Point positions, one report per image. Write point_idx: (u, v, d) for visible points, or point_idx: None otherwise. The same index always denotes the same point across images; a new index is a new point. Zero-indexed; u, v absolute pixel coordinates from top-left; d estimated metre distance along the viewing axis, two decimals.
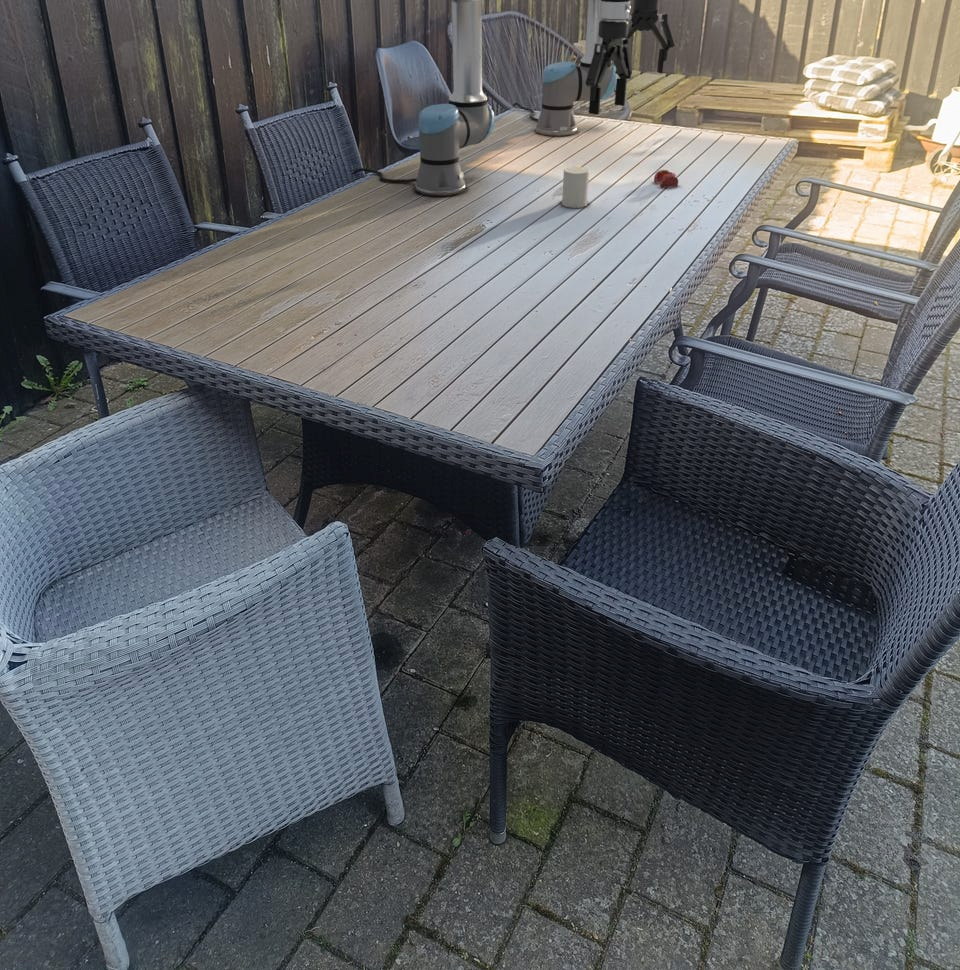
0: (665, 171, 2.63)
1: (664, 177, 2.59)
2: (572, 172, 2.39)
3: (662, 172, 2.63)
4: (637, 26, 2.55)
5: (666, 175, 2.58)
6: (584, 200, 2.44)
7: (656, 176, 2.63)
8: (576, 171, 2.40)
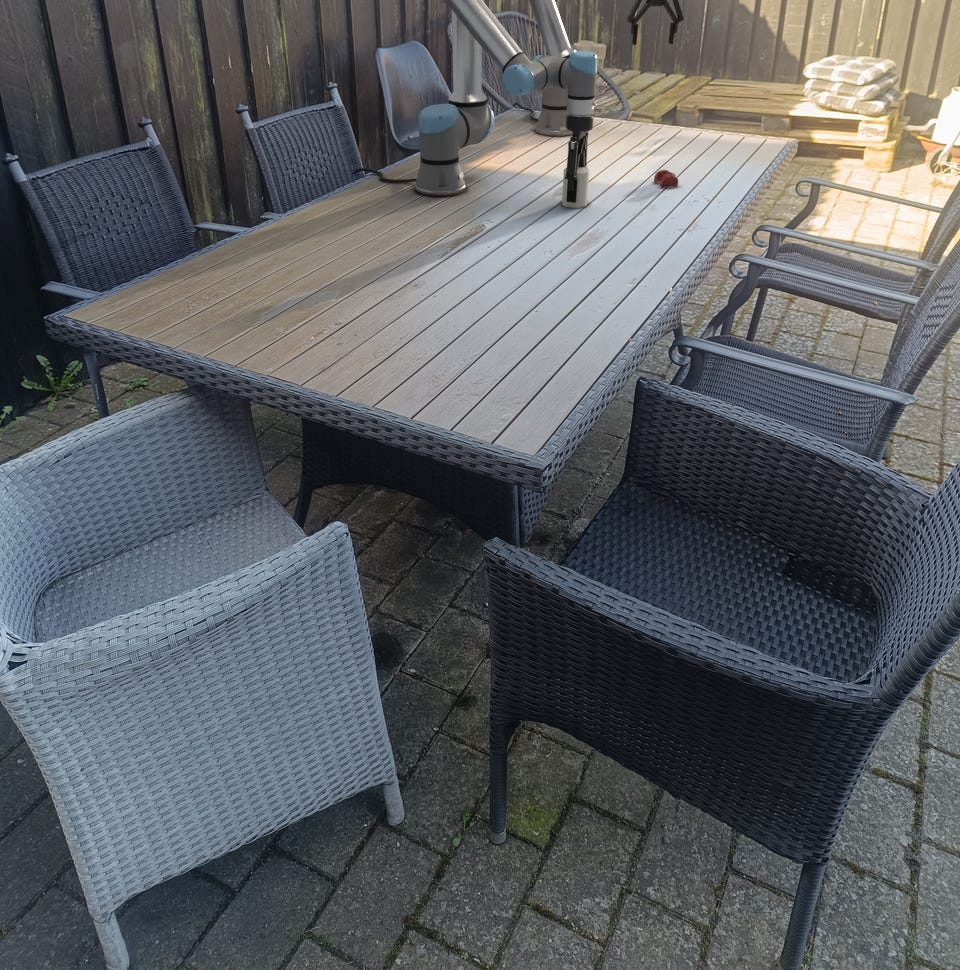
0: (665, 171, 2.63)
1: (664, 177, 2.59)
2: None
3: (662, 172, 2.63)
4: (651, 2, 2.93)
5: (666, 175, 2.58)
6: (584, 200, 2.44)
7: (656, 176, 2.63)
8: None
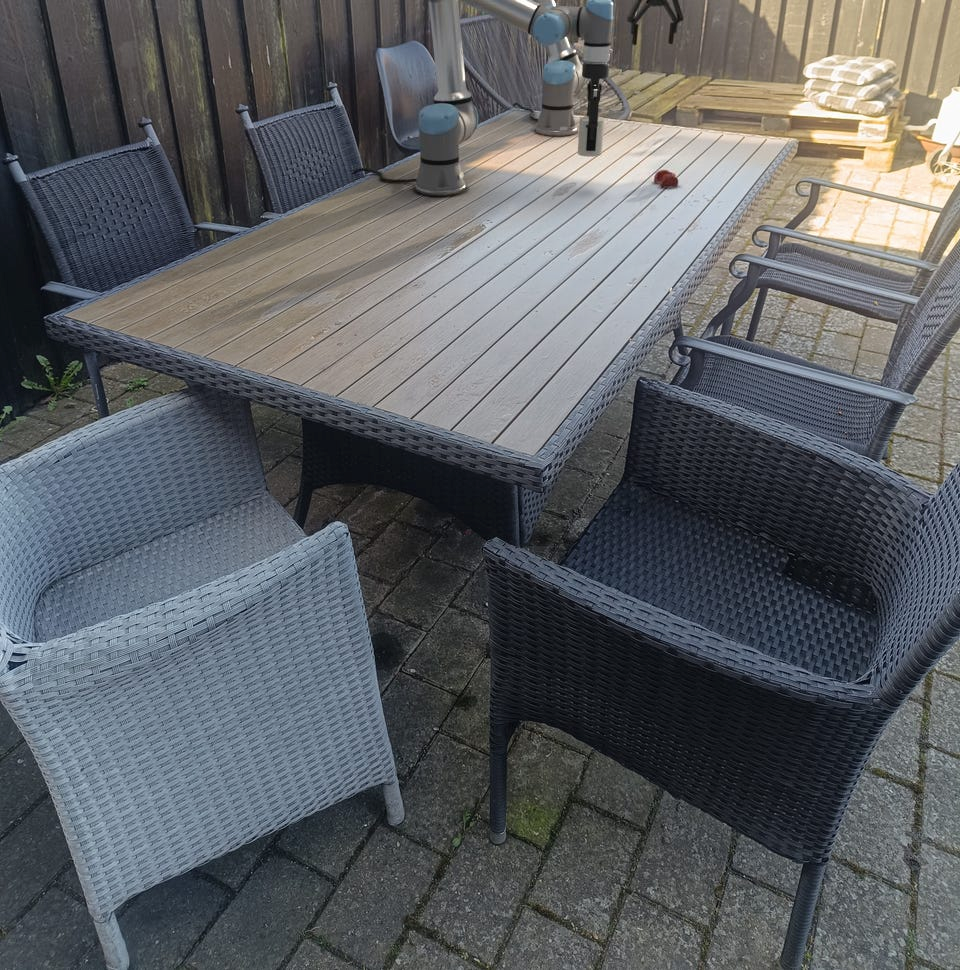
0: (665, 171, 2.63)
1: (664, 177, 2.59)
2: None
3: (662, 172, 2.63)
4: (651, 2, 2.93)
5: (666, 175, 2.58)
6: (601, 148, 2.49)
7: (656, 176, 2.63)
8: None
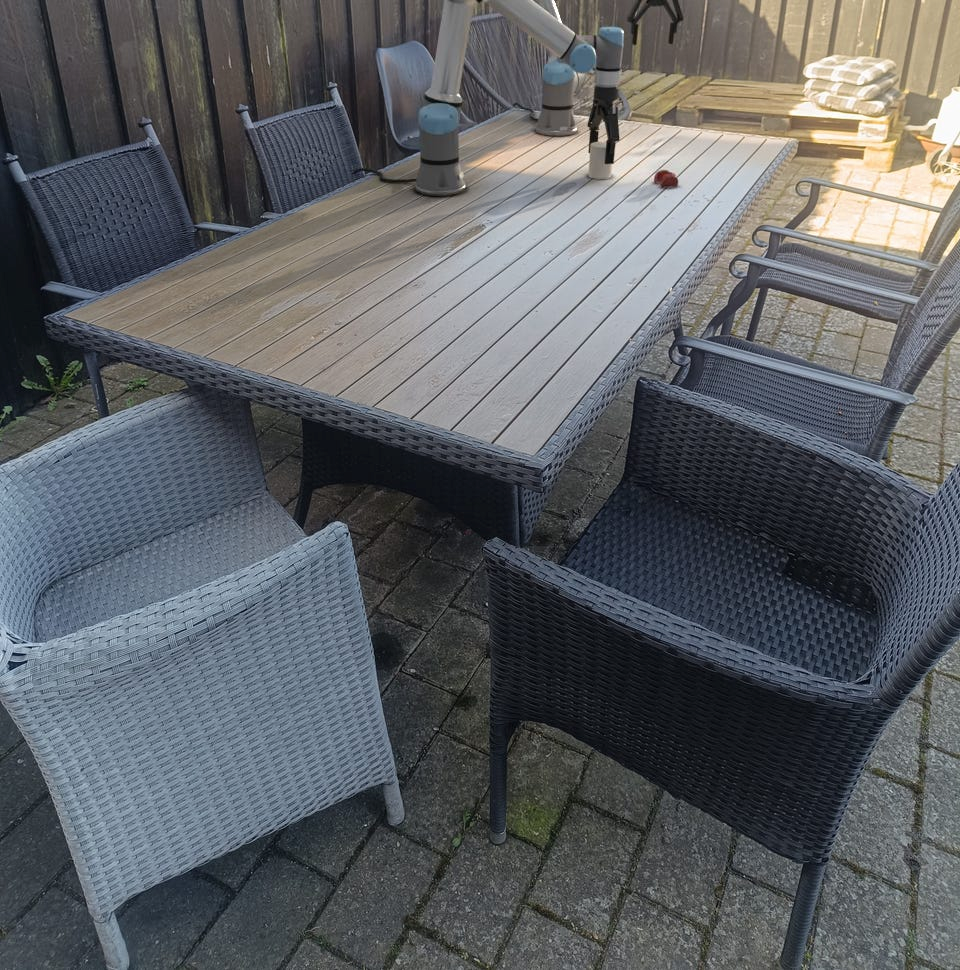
0: (665, 171, 2.63)
1: (664, 177, 2.59)
2: (604, 146, 2.63)
3: (662, 172, 2.63)
4: (651, 2, 2.93)
5: (666, 175, 2.58)
6: (611, 170, 2.69)
7: (656, 176, 2.63)
8: (605, 145, 2.64)
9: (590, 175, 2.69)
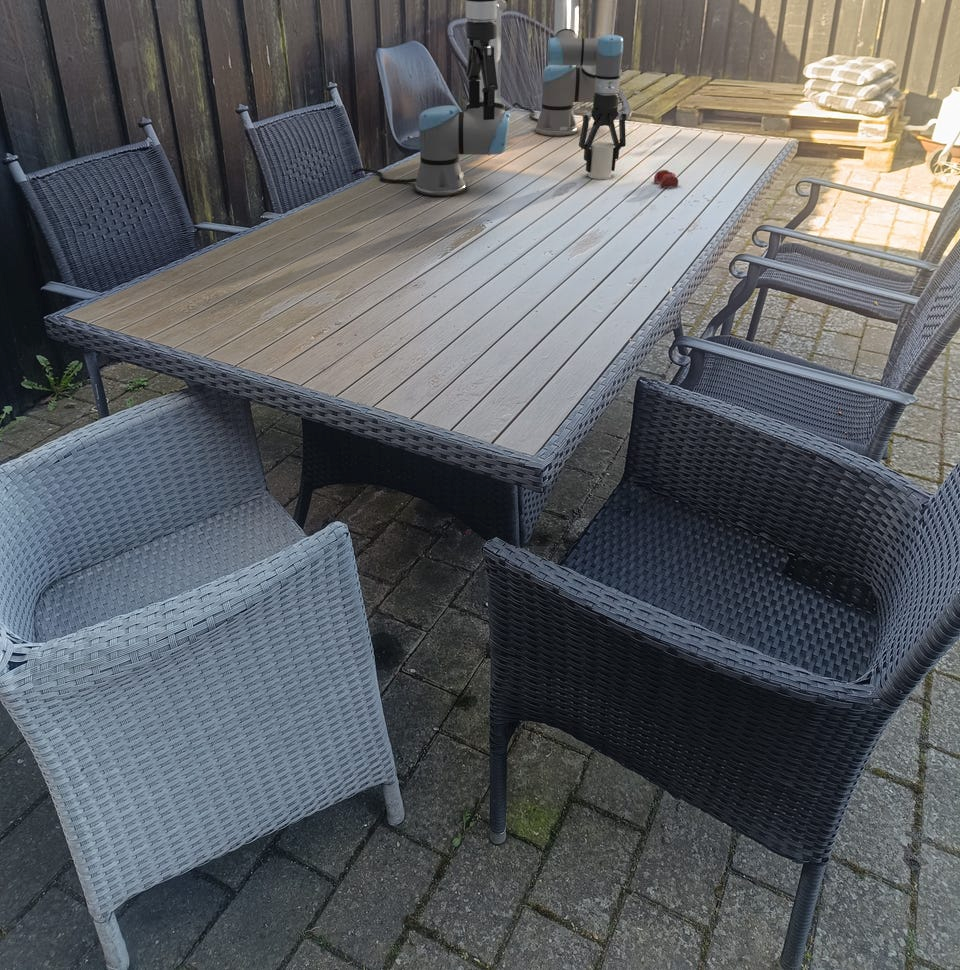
0: (665, 171, 2.63)
1: (664, 177, 2.59)
2: (604, 146, 2.63)
3: (662, 172, 2.63)
4: (599, 123, 2.59)
5: (666, 175, 2.58)
6: (611, 170, 2.69)
7: (656, 176, 2.63)
8: (605, 145, 2.64)
9: (590, 175, 2.69)
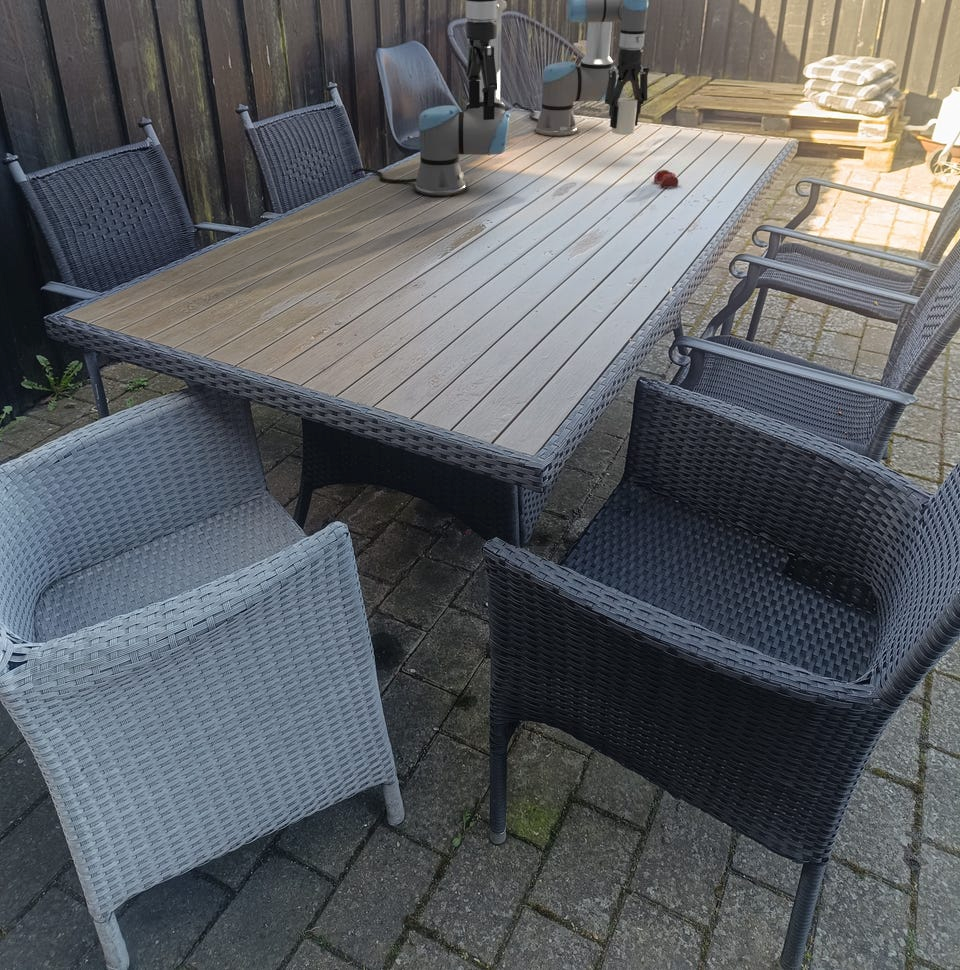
0: (665, 171, 2.63)
1: (664, 177, 2.59)
2: (630, 101, 2.68)
3: (662, 172, 2.63)
4: (626, 78, 2.64)
5: (666, 175, 2.58)
6: None
7: (656, 176, 2.63)
8: (629, 100, 2.69)
9: (616, 131, 2.73)
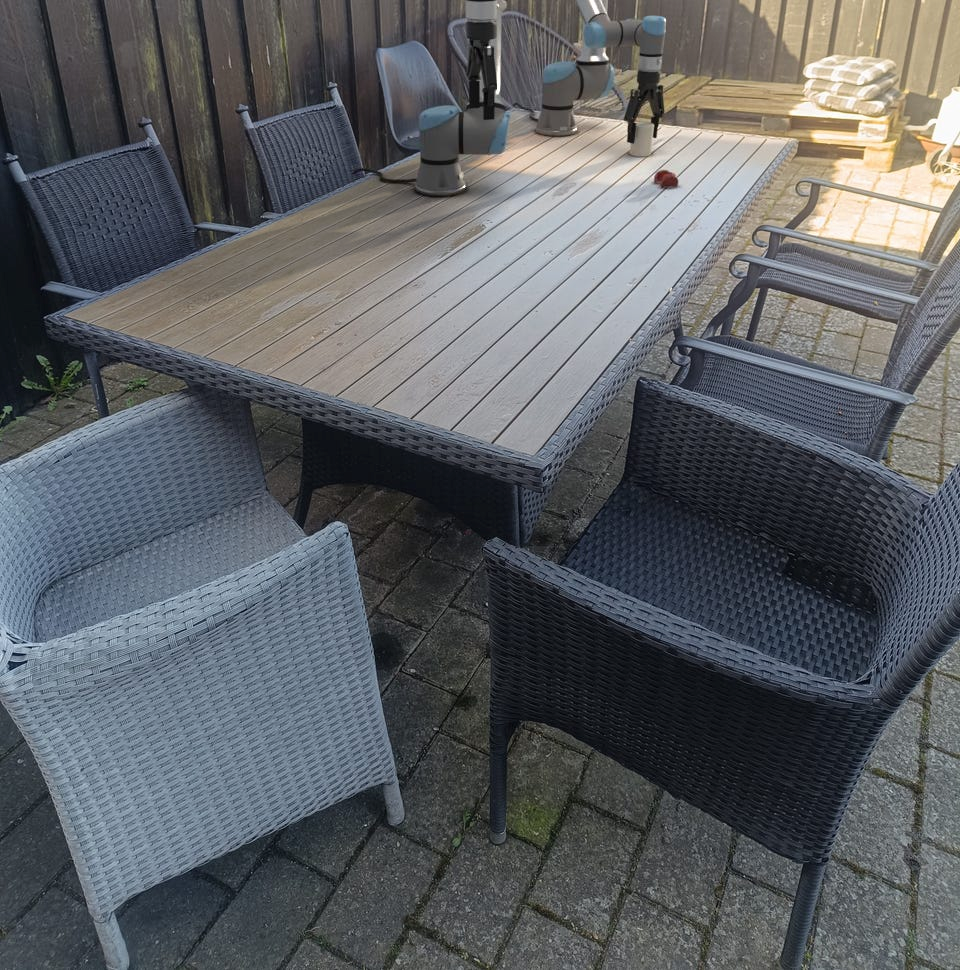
0: (665, 171, 2.63)
1: (664, 177, 2.59)
2: (649, 125, 2.85)
3: (662, 172, 2.63)
4: (645, 98, 2.79)
5: (666, 175, 2.58)
6: None
7: (656, 176, 2.63)
8: (647, 124, 2.86)
9: (636, 154, 2.90)
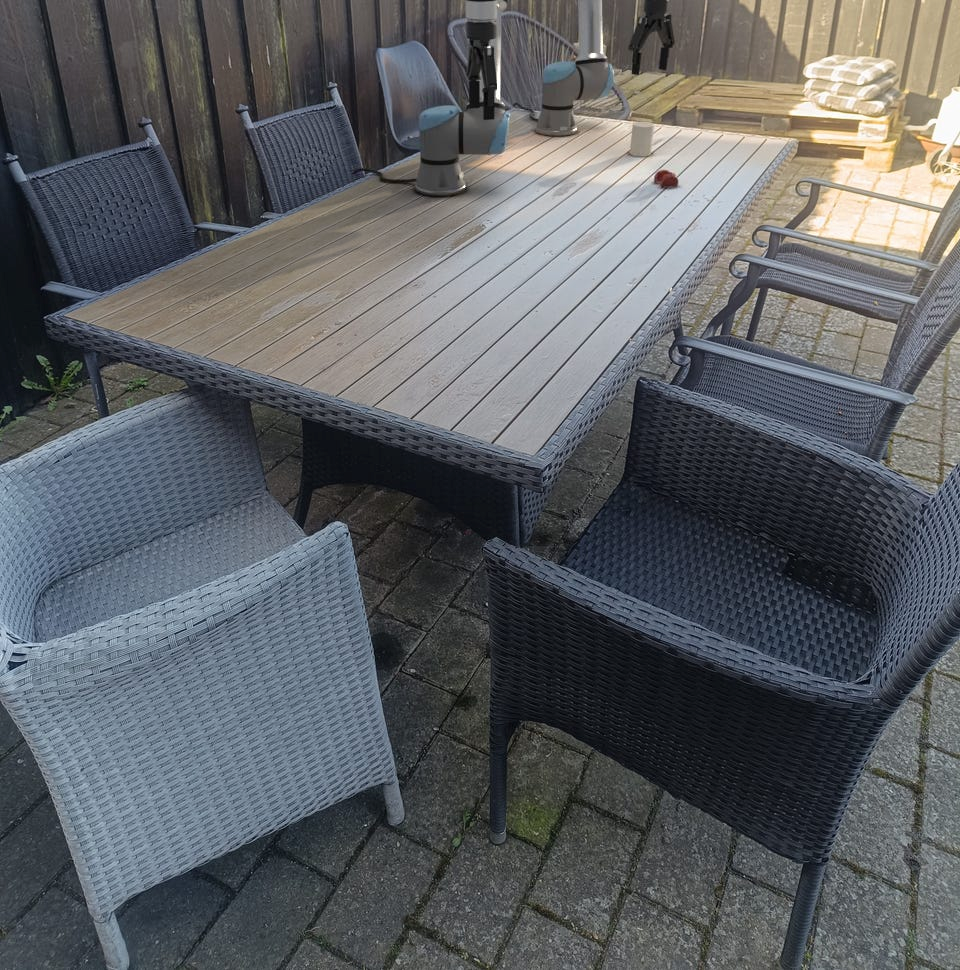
0: (665, 171, 2.63)
1: (664, 177, 2.59)
2: (649, 125, 2.85)
3: (662, 172, 2.63)
4: (652, 27, 2.67)
5: (666, 175, 2.58)
6: None
7: (656, 176, 2.63)
8: (647, 124, 2.86)
9: (636, 154, 2.90)
